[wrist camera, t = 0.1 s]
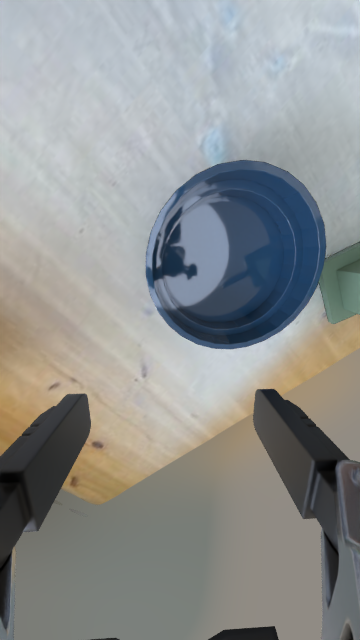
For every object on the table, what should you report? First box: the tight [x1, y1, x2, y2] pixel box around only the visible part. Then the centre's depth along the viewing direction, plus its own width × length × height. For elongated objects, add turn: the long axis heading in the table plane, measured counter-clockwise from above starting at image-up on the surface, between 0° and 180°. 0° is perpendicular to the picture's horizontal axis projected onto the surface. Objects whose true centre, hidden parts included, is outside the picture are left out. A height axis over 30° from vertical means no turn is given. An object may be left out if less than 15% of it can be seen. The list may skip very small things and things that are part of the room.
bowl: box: [146, 160, 326, 349], centre depth 26 cm, size 22×22×6 cm
